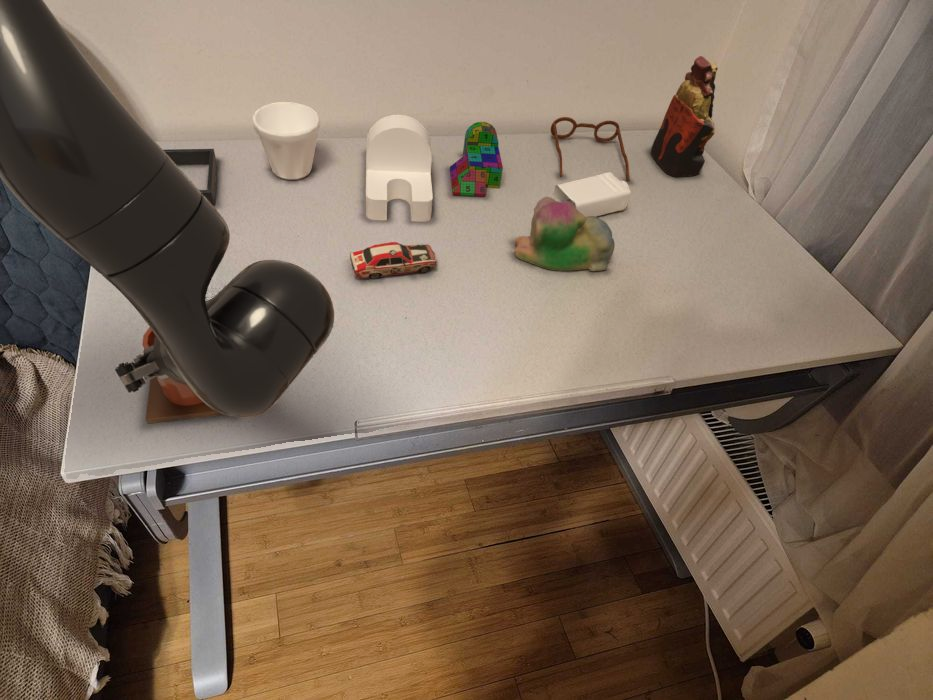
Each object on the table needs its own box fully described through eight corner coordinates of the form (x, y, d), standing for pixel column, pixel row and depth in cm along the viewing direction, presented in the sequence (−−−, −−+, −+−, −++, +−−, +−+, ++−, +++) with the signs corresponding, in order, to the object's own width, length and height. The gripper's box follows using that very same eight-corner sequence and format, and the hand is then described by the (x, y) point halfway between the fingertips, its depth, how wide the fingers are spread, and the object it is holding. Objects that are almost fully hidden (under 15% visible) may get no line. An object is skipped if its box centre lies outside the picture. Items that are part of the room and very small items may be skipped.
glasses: (613, 143, 118) (621, 119, 114) (629, 182, 110) (638, 158, 106) (547, 138, 117) (553, 113, 113) (558, 177, 108) (565, 152, 104)
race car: (353, 266, 89) (346, 242, 86) (433, 252, 91) (430, 228, 87) (356, 290, 86) (350, 266, 83) (439, 275, 88) (436, 251, 84)
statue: (703, 178, 114) (754, 72, 99) (665, 179, 112) (711, 71, 97) (676, 143, 121) (719, 39, 106) (640, 143, 119) (678, 38, 104)
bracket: (431, 222, 96) (437, 157, 87) (365, 219, 94) (365, 154, 86) (425, 154, 108) (429, 92, 99) (367, 151, 106) (366, 88, 98)
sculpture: (593, 235, 98) (612, 183, 91) (614, 271, 93) (635, 218, 86) (507, 242, 95) (519, 187, 87) (524, 279, 90) (538, 225, 82)
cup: (263, 152, 103) (255, 99, 96) (324, 154, 104) (320, 102, 97) (257, 187, 96) (248, 133, 89) (322, 189, 98) (318, 136, 91)
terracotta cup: (160, 408, 68) (139, 363, 61) (164, 364, 71) (145, 317, 65) (221, 402, 69) (206, 357, 63) (222, 359, 73) (209, 312, 67)
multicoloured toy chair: (447, 155, 109) (451, 119, 104) (492, 157, 110) (498, 122, 105) (452, 195, 101) (457, 159, 96) (500, 198, 102) (507, 162, 97)
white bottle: (632, 210, 104) (640, 189, 101) (571, 226, 99) (577, 204, 96) (609, 189, 108) (616, 168, 105) (549, 203, 103) (555, 181, 100)
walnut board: (147, 423, 67) (145, 419, 66) (154, 361, 73) (152, 356, 72) (233, 414, 69) (232, 410, 69) (234, 353, 75) (233, 349, 74)
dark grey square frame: (130, 209, 89) (125, 194, 88) (138, 164, 97) (134, 149, 95) (214, 205, 92) (211, 192, 90) (216, 162, 99) (213, 148, 97)
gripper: (260, 273, 57) (220, 292, 70) (100, 344, 49) (90, 349, 63) (298, 345, 58) (251, 349, 72) (148, 424, 51) (128, 412, 65)
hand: (176, 349), depth 68 cm, fingers closed on terracotta cup, 6 cm apart
